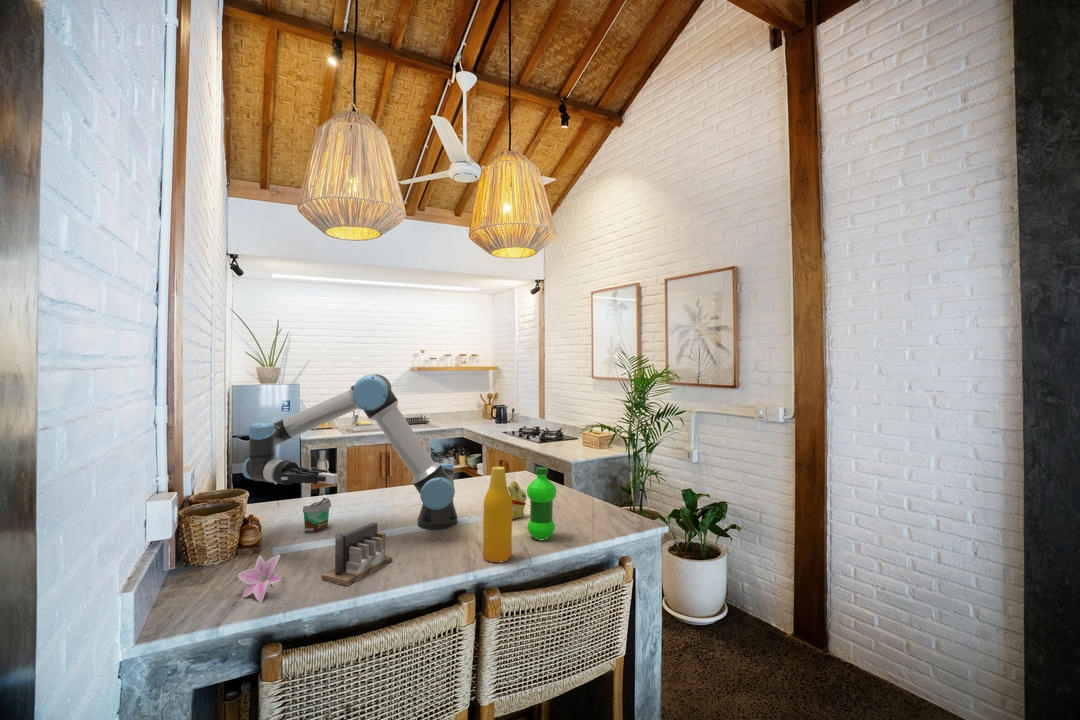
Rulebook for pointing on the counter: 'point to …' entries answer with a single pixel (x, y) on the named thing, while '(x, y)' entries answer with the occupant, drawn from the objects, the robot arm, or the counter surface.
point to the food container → (316, 516)
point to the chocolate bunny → (517, 500)
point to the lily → (260, 577)
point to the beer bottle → (497, 518)
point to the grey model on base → (357, 559)
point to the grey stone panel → (357, 539)
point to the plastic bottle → (541, 505)
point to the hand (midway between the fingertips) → (335, 479)
